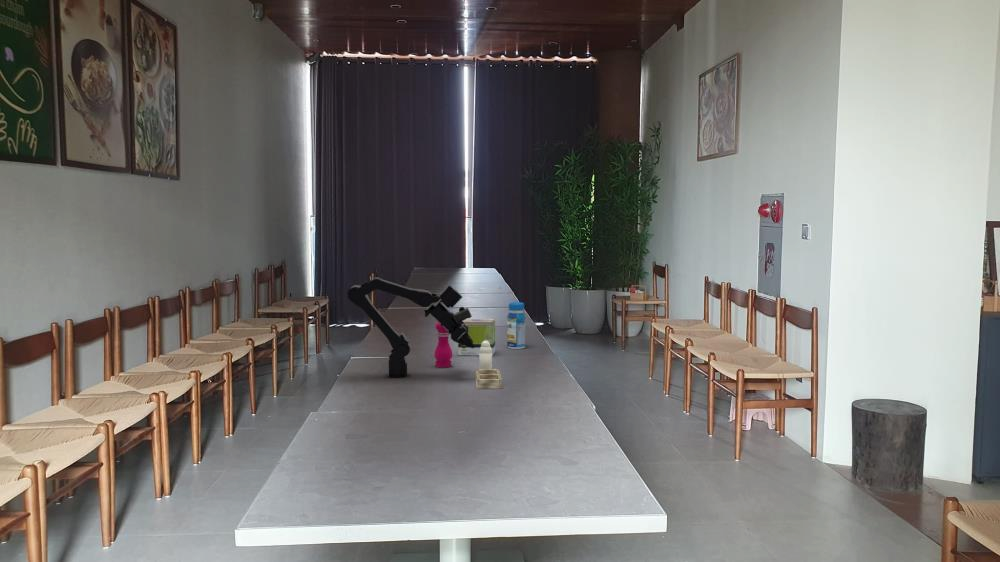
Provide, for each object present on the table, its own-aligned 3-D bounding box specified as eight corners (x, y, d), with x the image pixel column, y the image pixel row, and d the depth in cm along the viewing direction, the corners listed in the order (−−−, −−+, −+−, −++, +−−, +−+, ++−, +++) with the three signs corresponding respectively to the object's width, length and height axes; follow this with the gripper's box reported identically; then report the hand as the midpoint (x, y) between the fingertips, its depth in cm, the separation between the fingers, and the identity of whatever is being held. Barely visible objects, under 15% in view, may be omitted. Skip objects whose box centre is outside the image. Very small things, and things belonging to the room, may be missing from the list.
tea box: (495, 351, 326) (495, 318, 324) (492, 356, 316) (493, 322, 314) (461, 350, 327) (461, 317, 326) (457, 355, 317) (457, 321, 316)
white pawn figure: (479, 375, 281) (479, 341, 280) (478, 372, 286) (479, 339, 285) (492, 375, 282) (492, 341, 280) (491, 372, 287) (491, 339, 285)
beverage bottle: (525, 349, 331) (526, 304, 329) (506, 349, 332) (506, 304, 329) (525, 345, 340) (525, 301, 338) (506, 345, 340) (507, 301, 338)
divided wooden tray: (476, 388, 262) (476, 380, 262) (475, 377, 279) (475, 369, 279) (502, 388, 263) (502, 380, 263) (499, 376, 280) (499, 369, 280)
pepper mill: (453, 364, 301) (453, 314, 299) (450, 368, 294) (450, 317, 292) (436, 363, 302) (436, 314, 300) (432, 367, 295) (432, 317, 292)
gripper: (459, 304, 271) (490, 334, 273) (457, 297, 289) (486, 325, 291) (438, 326, 271) (468, 356, 273) (437, 318, 289) (466, 346, 292)
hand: (473, 345), depth 282 cm, fingers open, 9 cm apart
